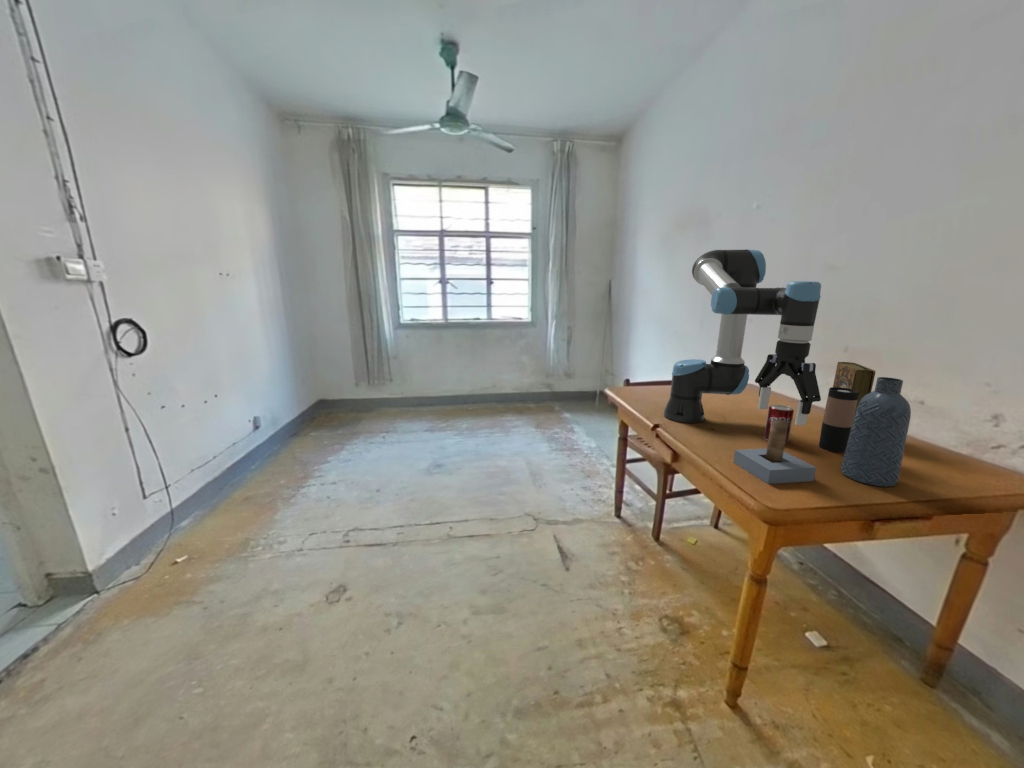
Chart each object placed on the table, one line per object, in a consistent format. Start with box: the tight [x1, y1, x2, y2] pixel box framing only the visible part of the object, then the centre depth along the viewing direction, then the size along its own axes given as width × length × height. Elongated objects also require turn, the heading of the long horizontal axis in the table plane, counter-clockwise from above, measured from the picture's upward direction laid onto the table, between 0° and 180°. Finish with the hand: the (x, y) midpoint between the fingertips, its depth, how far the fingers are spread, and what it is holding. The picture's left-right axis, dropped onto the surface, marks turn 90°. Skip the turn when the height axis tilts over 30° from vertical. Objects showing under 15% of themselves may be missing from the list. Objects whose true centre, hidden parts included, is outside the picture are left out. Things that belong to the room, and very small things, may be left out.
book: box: [832, 361, 876, 412], centre depth 147 cm, size 16×6×25 cm, turn 161°
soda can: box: [763, 404, 795, 444], centre depth 141 cm, size 7×7×12 cm
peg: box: [765, 419, 789, 463], centre depth 117 cm, size 4×4×15 cm
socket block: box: [733, 448, 817, 485], centre depth 118 cm, size 14×14×4 cm
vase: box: [840, 376, 912, 488], centre depth 112 cm, size 12×12×28 cm
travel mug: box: [818, 386, 859, 454], centre depth 133 cm, size 8×8×20 cm
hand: (780, 416), depth 115 cm, fingers open, 13 cm apart
